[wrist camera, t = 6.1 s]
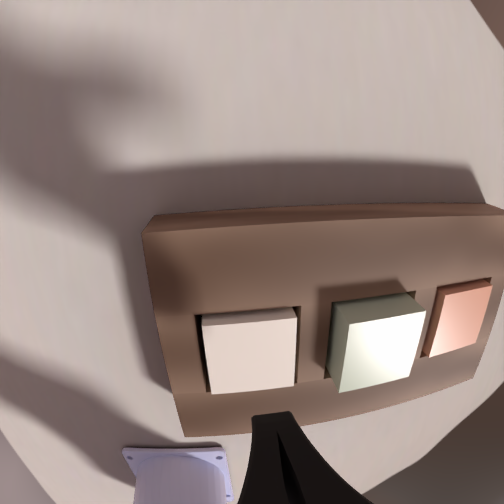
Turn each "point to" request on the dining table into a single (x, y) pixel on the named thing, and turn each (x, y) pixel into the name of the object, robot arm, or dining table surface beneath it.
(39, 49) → the dining table surface
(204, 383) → the button panel
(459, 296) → the terracotta button
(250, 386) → the cream button
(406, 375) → the sage button
